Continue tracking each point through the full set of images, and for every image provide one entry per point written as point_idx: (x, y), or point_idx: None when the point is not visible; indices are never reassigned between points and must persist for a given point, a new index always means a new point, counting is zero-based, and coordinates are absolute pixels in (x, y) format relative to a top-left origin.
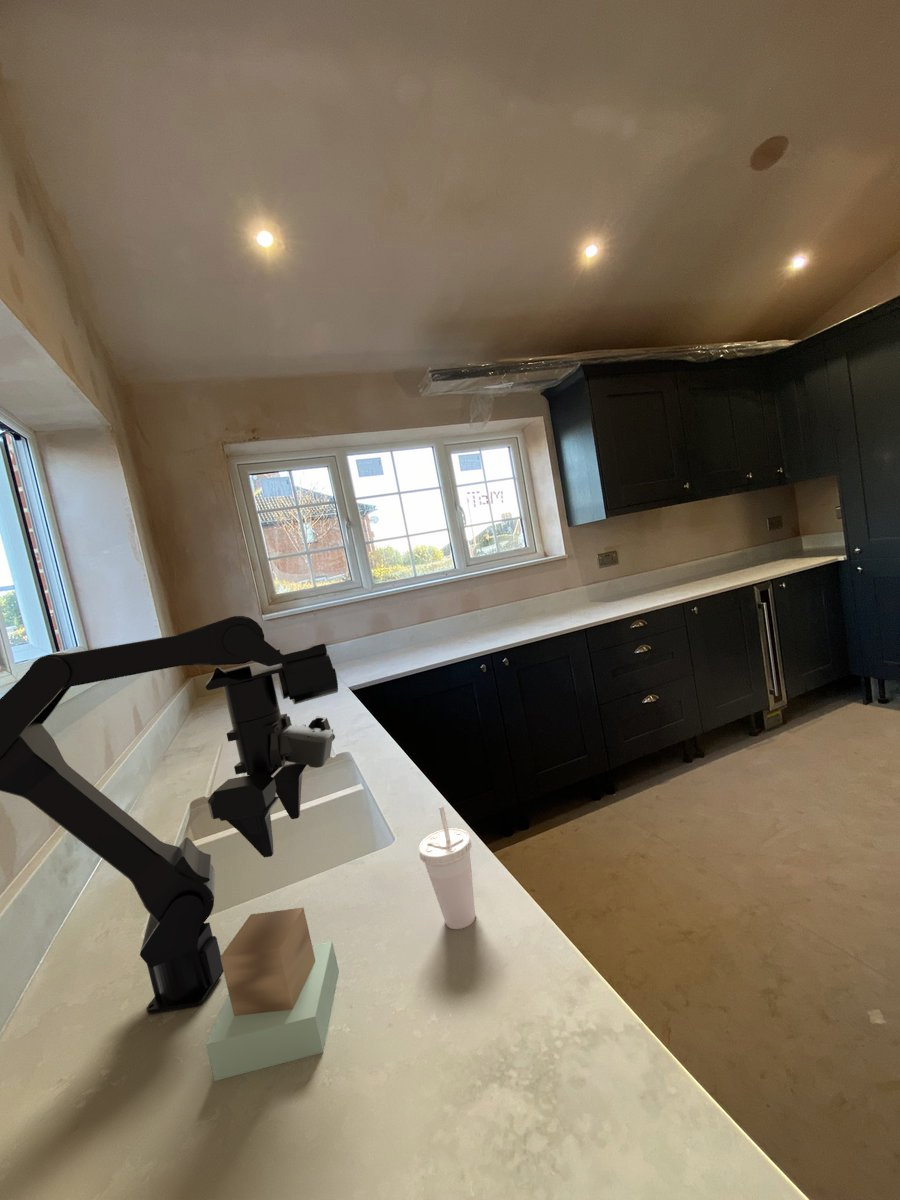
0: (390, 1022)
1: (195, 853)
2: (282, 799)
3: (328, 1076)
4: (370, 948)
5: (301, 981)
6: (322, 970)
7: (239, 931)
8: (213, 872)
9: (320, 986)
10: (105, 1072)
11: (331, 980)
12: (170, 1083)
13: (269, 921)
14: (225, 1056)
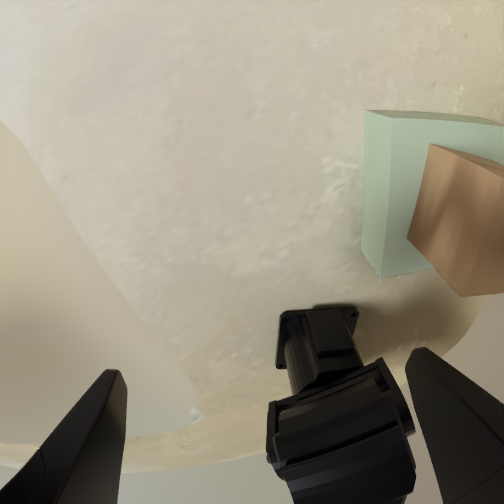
0: (463, 35)
1: (328, 491)
2: (116, 477)
3: (498, 109)
4: (323, 56)
5: (478, 157)
6: (452, 126)
7: (493, 291)
8: (293, 437)
9: (476, 125)
10: (400, 347)
11: (419, 114)
12: (444, 280)
13: (501, 244)
14: None
